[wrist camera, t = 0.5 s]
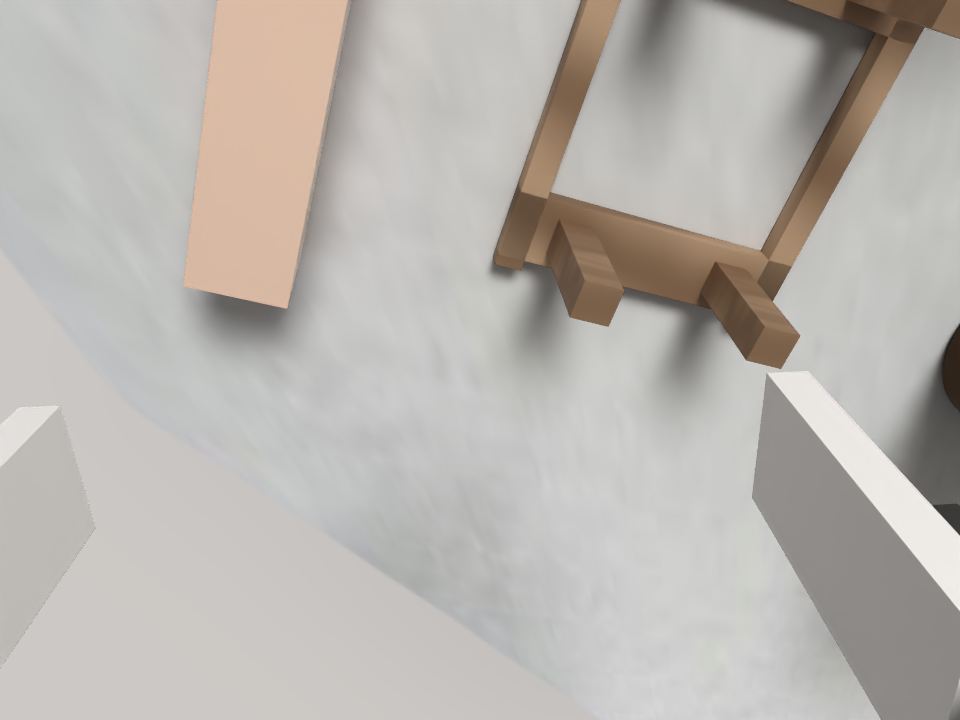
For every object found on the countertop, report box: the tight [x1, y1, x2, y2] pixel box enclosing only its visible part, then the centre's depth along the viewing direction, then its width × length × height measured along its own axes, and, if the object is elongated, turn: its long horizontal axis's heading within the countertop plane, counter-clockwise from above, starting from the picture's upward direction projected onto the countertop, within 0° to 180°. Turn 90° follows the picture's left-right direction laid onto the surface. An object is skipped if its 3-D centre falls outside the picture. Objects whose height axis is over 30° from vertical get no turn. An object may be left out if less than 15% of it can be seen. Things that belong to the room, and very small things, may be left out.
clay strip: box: [183, 0, 352, 309], centre depth 29 cm, size 18×4×5 cm, turn 164°
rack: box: [494, 0, 960, 369], centre depth 31 cm, size 17×13×7 cm
